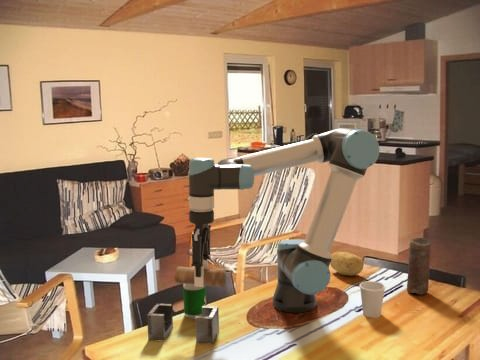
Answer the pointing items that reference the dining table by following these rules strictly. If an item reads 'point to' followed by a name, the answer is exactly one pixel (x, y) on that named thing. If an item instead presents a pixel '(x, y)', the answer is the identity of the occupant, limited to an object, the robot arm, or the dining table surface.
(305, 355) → the dining table surface
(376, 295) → the dixie cup
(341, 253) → the potato
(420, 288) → the candle
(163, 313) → the bracket
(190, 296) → the soda can
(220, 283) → the brown wooden log
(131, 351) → the dining table surface
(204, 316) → the bracket
